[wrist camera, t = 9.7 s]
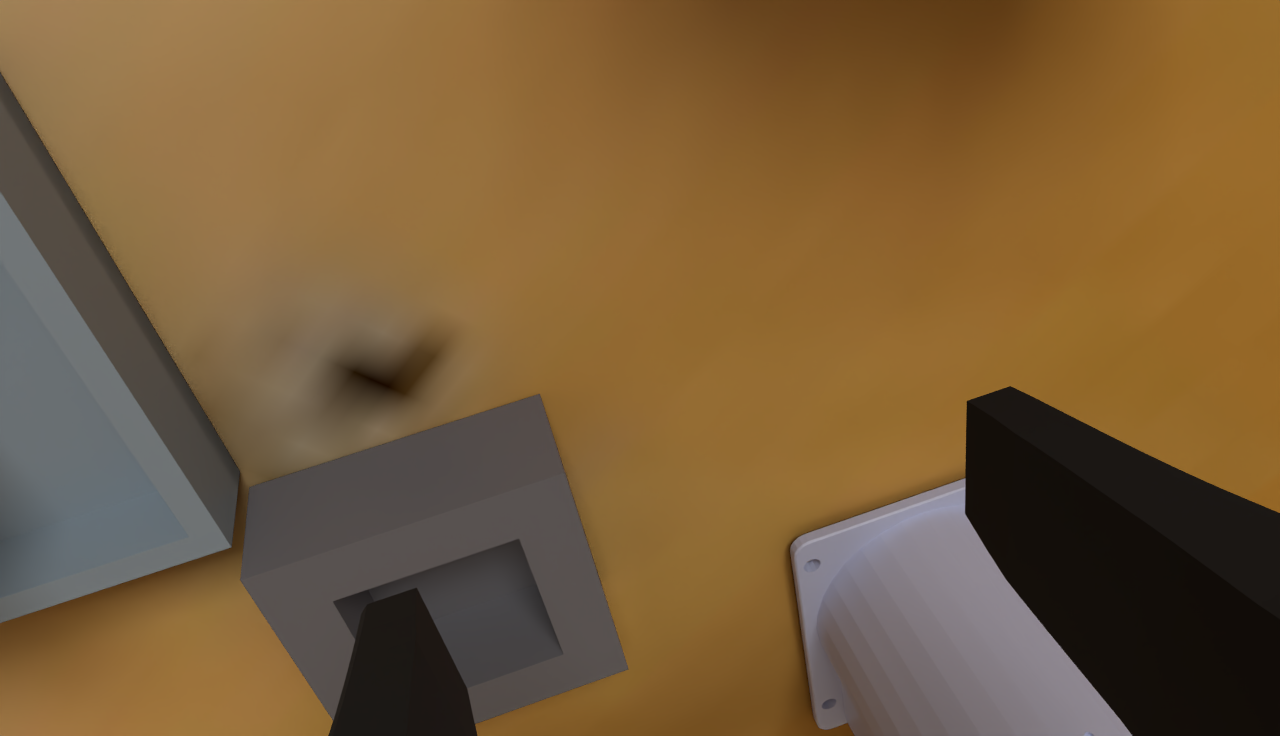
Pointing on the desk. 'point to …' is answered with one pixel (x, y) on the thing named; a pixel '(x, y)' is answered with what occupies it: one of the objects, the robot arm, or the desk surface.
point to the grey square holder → (439, 558)
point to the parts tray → (88, 407)
